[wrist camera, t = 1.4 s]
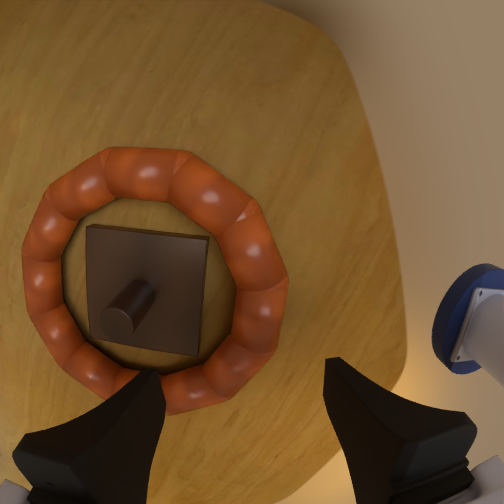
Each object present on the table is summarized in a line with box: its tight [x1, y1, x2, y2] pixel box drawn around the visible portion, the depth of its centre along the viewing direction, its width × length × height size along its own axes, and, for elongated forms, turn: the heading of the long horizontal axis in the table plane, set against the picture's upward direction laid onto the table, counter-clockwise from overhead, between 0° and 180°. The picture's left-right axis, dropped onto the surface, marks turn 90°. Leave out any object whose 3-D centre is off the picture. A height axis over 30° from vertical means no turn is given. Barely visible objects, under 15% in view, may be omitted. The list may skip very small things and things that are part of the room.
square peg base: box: [86, 224, 209, 356], centre depth 17 cm, size 8×8×6 cm
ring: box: [21, 147, 289, 416], centre depth 18 cm, size 18×18×3 cm
